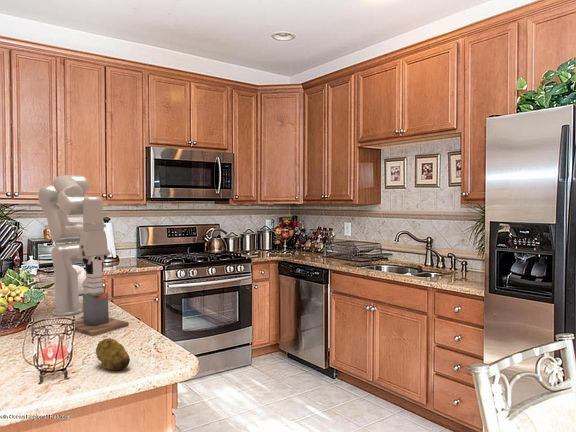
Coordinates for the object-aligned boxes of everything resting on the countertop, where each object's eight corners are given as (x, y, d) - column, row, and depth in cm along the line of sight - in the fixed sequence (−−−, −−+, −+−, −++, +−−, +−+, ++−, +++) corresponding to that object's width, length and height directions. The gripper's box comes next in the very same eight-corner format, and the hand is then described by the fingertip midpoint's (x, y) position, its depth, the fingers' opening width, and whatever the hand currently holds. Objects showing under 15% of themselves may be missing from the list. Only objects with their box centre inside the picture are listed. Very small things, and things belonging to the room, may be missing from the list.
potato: (102, 376, 131) (102, 349, 130) (94, 363, 142) (93, 338, 141) (131, 370, 135) (131, 344, 135) (121, 357, 146) (120, 333, 146)
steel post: (88, 308, 180) (86, 260, 179) (97, 306, 183) (96, 259, 182) (94, 309, 178) (92, 261, 177) (103, 307, 181) (102, 260, 180)
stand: (63, 327, 180) (62, 294, 179) (99, 318, 193) (98, 287, 192) (92, 336, 169) (91, 301, 168) (128, 325, 182) (127, 293, 181)
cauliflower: (47, 282, 230) (65, 256, 239) (51, 292, 245) (68, 266, 254) (84, 298, 233) (100, 271, 242) (86, 306, 248) (101, 281, 256)
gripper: (106, 226, 188) (107, 269, 189) (68, 228, 174) (69, 275, 175) (117, 226, 184) (118, 270, 185) (78, 229, 170) (80, 277, 171)
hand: (94, 272), depth 180 cm, fingers closed on steel post, 4 cm apart
